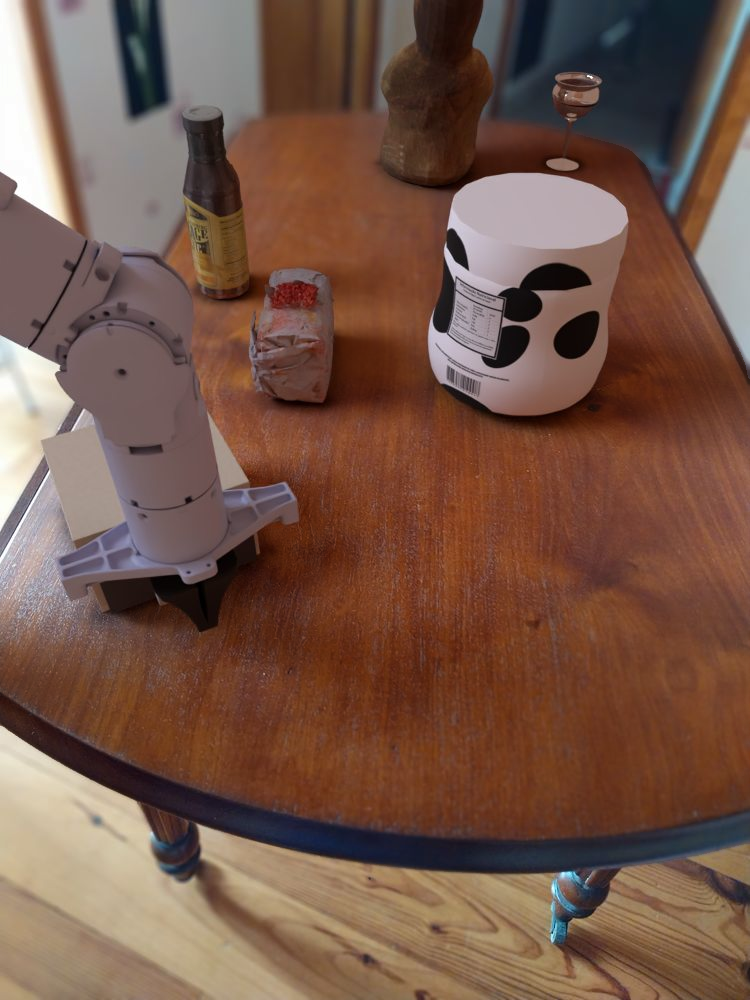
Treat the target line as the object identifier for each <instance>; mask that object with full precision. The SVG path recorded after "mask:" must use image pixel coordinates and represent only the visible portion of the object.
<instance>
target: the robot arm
mask: <svg viewBox="0 0 750 1000" xmlns="http://www.w3.org/2000/svg"><path fill="white" fill-rule="evenodd" d="M17 189H18V182H17V181H16V180H14V179H13V178H11V177H10V176H8V175H7V174H5V173H4V172H2V171H0V336H1V337H3V338H5V339H7V340H8V341H11V342H12V343H15V344H17V345H18V346H20V347H22V348H24V349H27V350H28V351H30V352H32V353H34V354H36V355H38V356H40V357H42V358H44V359H46V360H48V361H50V362H52V363H55V364H57V365H59V370H57V371H55V373H54V376H55V379H56V381H57V383H58V385H59V386H60V388H61V389H62V391H63V392H64V393H65V394H66V395H67V396H68V398H70V399H71V400H72V401H73V402H74V403H75V404H76V405H78V406H80V408H82V409H83V410H85V411H87V412H88V413H90V414H91V415H92V418H93V421H94V422H93V423H94V425H95V428H96V431H97V434H98V437H99V440H100V443H101V446H102V449H103V452H104V455H105V458H106V461H107V464H108V467H109V470H110V473H111V476H112V479H113V482H114V485H115V488H116V492H117V495H118V498H119V501H120V504H121V507H122V510H123V513H124V516H125V519H126V520H125V521H123V522H122V523H120V524H118V525H117V526H115V527H114V528H112V529H110V530H109V531H107V532H105V533H104V534H102V535H101V536H99V537H97V538H96V539H94V540H93V541H91V542H89V543H88V544H86V545H84V546H82V547H81V548H79V549H77V550H76V549H75V550H73V551H71V552H68V553H66V554H63V555H61V556H58V557H55V558H54V561H55V565H56V569H57V573H58V576H59V579H60V583H61V584H62V587H63V589H64V591H65V594H66V595H67V597H68V599H69V602H74V601H77V600H79V599H82V598H85V597H88V595H89V589H88V588H90V587H92V586H93V585H95V584H98V583H101V582H104V581H109V580H120V579H131V578H142V577H149V579H150V581H151V584H152V587H153V589H154V591H155V593H156V594H157V596H158V597H159V598H160V599H161V600H162V601H163V602H166V603H167V604H170V605H172V606H174V607H176V608H177V609H179V611H181V612H183V614H185V615H186V616H187V617H188V619H190V621H192V623H193V624H194V626H195V627H196V629H197V632H198V633H200V634H201V633H203V632H207V631H208V630H211V629H214V628H216V627H218V626H219V616H220V611H221V607H222V603H223V599H224V597H225V594H226V592H227V590H228V588H229V587H230V585H231V583H232V582H233V581H234V579H235V578H236V577H237V576H238V575H239V567H238V559H237V556H236V554H235V552H234V550H233V548H234V547H236V546H237V545H239V544H240V543H241V542H243V541H244V540H246V539H247V538H249V537H250V536H251V535H253V534H254V533H256V532H257V533H258V532H259V531H260V530H261V529H263V528H264V527H266V526H267V525H269V524H272V523H275V522H278V521H280V522H281V524H283V525H284V526H289V525H291V524H295V523H297V522H299V521H300V514H299V503H298V502H299V501H298V499H297V497H296V495H295V494H294V492H293V491H292V489H291V487H290V485H289V484H288V483H287V481H282V482H279V483H275V484H271V485H268V486H258V487H250V488H247V489H235V490H222V487H221V482H220V476H219V471H218V465H217V460H216V455H215V450H214V445H213V440H212V435H211V429H210V424H209V419H208V414H207V410H208V409H207V403H206V400H205V398H204V396H203V394H202V392H201V381H200V378H199V376H198V373H197V370H196V369H197V368H196V365H195V359H194V355H193V353H192V352H191V350H192V342H193V341H192V340H193V332H194V325H195V308H194V298H193V295H192V292H191V290H190V287H189V285H188V283H187V282H186V280H185V279H184V277H183V276H182V275H181V274H180V273H179V271H177V270H176V269H175V268H174V267H173V266H172V265H170V264H169V263H167V262H166V261H165V259H164V258H163V257H162V256H161V254H159V253H157V252H156V251H153V250H150V249H147V248H142V247H138V246H117V247H115V246H112V245H111V244H109V242H106V241H102V242H101V243H100V242H98V241H97V240H95V239H93V240H91V239H89V238H87V237H86V236H84V235H82V234H81V233H80V232H78V231H76V230H74V229H73V228H71V227H69V225H66V224H64V223H63V222H62V221H60V220H58V219H57V218H55V217H53V216H52V215H50V214H48V213H47V212H45V211H44V210H42V209H40V208H39V207H37V206H35V205H34V204H32V203H31V202H29V201H27V200H26V199H24V198H22V197H21V196H19V195H17V194H16V193H15V192H16V191H17Z"/></svg>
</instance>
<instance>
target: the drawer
mask: <svg viewBox="0 0 750 1000" xmlns="http://www.w3.org/2000/svg"><path fill="white" fill-rule="evenodd" d="M233 550H234V552H235V554H236V556H237V559H238V568H239V567H241V566H243V565H247V564H249V563H252V562H254V561H257V560H258V555H257V552H256V546H255V539H254V534H253V535H251V536H250V537H249V538H247V539H246V540H244V541H243V542H241V543H240V544H239V545H237V546H236V547H234V548H233ZM99 584H100V586H101V589H102V591H103V594H104V596H105V599H106V601H107V604H108V606H109V609H110V610H109V612H110V614H111V615H114V614H116V613H118V612H121V611H125V610H127V609H128V608H132V607H134V606H135V607H136V606H138V605H141V604H142V603H145V602H148V601H150V600H153V599H156V600H157V602H158V604H159V606H160V607H162V606H165V605H167V604H168V603H166V602H163V601H162V600H161V599H160V598H159V597H158V596H157V594H156V593H155V591H154V589H153V587H152V584H151V581H150V579H149V577H142V578H131V579H120V580H109V581H104V582H101V583H99Z"/></svg>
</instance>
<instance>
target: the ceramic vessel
mask: <svg viewBox="0 0 750 1000" xmlns="http://www.w3.org/2000/svg"><path fill="white" fill-rule="evenodd" d="M412 7H413V8H412V9H413V10H412V11H413V12H412V13H413V22H414V23H413V24H414V29H415V40H414V41H413V42H411V43H409V44H407V45H406V46H403V47H401V48H400V49H399V50H398V51H396V52H395V53H394V54H393V55H392V57H390V59H389V61H388V62H387V65H386V67H385V68H384V70H383V73H382V74H381V78H380V90H381V93H382V96H383V98H384V99H385V101H386V104H387V108H388V109H387V110H388V116H387V117H388V118H387V120H386V123H385V127H384V129H383V133H382V138H381V143H380V148H379V149H380V150H379V155H380V156H379V157H380V163H381V165H382V167H383V169H384V171H385V173H387V174H388V175H389V176H392V177H393V178H395V179H398V180H401V181H403V182H407V183H411V184H415V185H420V186H426V187H427V186H428V187H438V186H447V185H451V184H454V183H456V182H457V181H458V182H459V181H460V180H461V179H462V178H463V177H465V176H466V175H467V174H468V173H469V171H470V169H471V166H472V164H473V162H474V160H475V157H476V153H477V138H478V129H479V123H480V118H481V115H482V113H483V110H484V108H485V107H486V105H487V103H488V102H489V101H490V99H491V98H492V97H491V96H492V95H493V92H494V87H495V84H494V81H495V80H494V76H493V72H492V70H491V66H490V64H489V62H488V59H487V58H486V55H485V54H484V53H483V52H482V51H481V50H480V49H479V48H476V47H474V46H473V45H474V40H475V39H474V38H475V36H476V33H477V30H478V29H479V25H480V22H481V19H482V16H483V10H484V0H413V5H412Z"/></svg>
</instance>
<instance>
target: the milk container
mask: <svg viewBox="0 0 750 1000" xmlns="http://www.w3.org/2000/svg"><path fill="white" fill-rule="evenodd" d="M627 212H628V211H627V208H626V206H625V205H623V203H622V202H620V201H619V199H618V198H616V196H614V195H613V194H612V193H610V192H608V191H606V190H604V189H602V188H600V187H598V186H596V185H594V184H592V183H588V182H585V181H582V180H579V179H576V178H572V177H568V176H562V175H555V174H549V173H541V172H508V173H503V174H495V175H489V176H485V177H482V178H479V179H476V180H474V181H472V182H469V183H467V184H465V185H464V186H463V187H461V188H460V190H458V191H457V192H456V193H455V194H454V195H453V198H452V202H451V207H450V212H449V216H448V221H447V229H446V238H445V244H444V246H443V247H444V248H443V260H442V261H443V263H442V281H441V288H440V292H439V295H438V297H437V300H436V303H435V306H434V309H433V311H432V314H431V317H430V319H429V320H430V321H429V326H428V333H427V345H428V346H427V347H428V356H429V362H430V366H431V369H432V372H433V374H434V376H435V379H436V380H437V381H438V383H439V384H440V386H441V387H442V388H443V389H444V390H445V391H446V392H447V393H448V394H450V395H451V396H452V397H453V398H455V399H456V400H457V401H459V402H461V403H463V404H465V405H467V406H469V407H472V408H473V409H475V410H479V411H481V412H483V413H487V414H492V415H493V414H494V415H497V416H503V417H507V418H538V417H543V416H549V415H553V414H556V413H559V412H562V411H565V410H567V409H570V408H571V407H572V406H574V405H575V404H577V403H579V402H580V401H581V400H582V399H583V398H585V397H586V396H587V394H589V392H591V390H592V388H593V387H594V386H595V384H596V381H597V380H598V377H599V376H600V374H601V371H602V369H603V367H604V364H605V361H606V357H607V353H608V346H609V324H608V319H609V318H608V315H609V313H608V312H609V307H610V303H611V299H612V294H613V291H614V288H615V285H616V282H617V278H618V276H619V272H620V266H621V264H620V263H621V261H622V259H623V256H624V253H625V250H626V247H627V240H628V233H629V217H628V213H627Z"/></svg>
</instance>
